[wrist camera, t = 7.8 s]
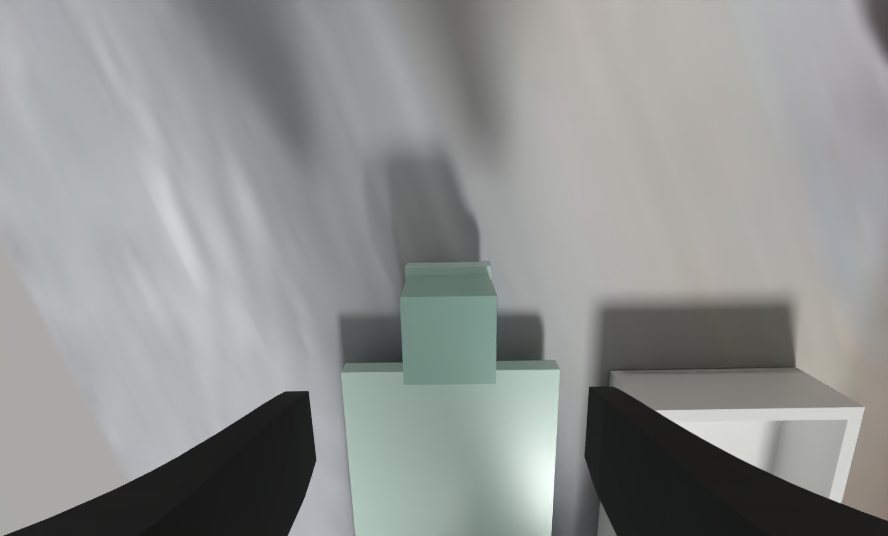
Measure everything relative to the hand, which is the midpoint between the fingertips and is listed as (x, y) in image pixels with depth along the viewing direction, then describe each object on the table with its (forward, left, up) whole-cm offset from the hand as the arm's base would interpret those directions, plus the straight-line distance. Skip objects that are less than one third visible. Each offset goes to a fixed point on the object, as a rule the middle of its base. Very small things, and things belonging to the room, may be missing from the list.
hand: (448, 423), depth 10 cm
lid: (-6, 0, -7) cm, 9 cm away
